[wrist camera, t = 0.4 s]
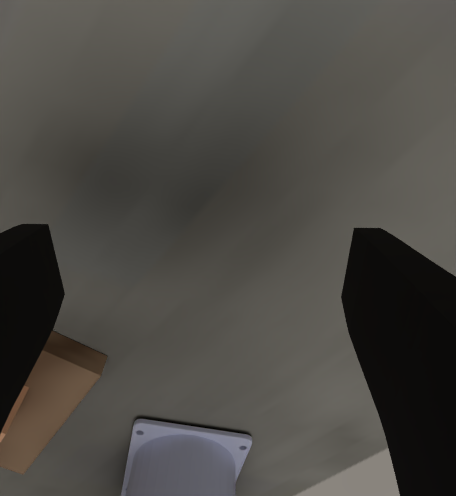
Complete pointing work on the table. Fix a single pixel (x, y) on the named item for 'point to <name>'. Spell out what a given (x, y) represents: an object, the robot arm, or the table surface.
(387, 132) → the table surface
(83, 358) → the walnut board
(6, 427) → the collar
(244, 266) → the table surface
